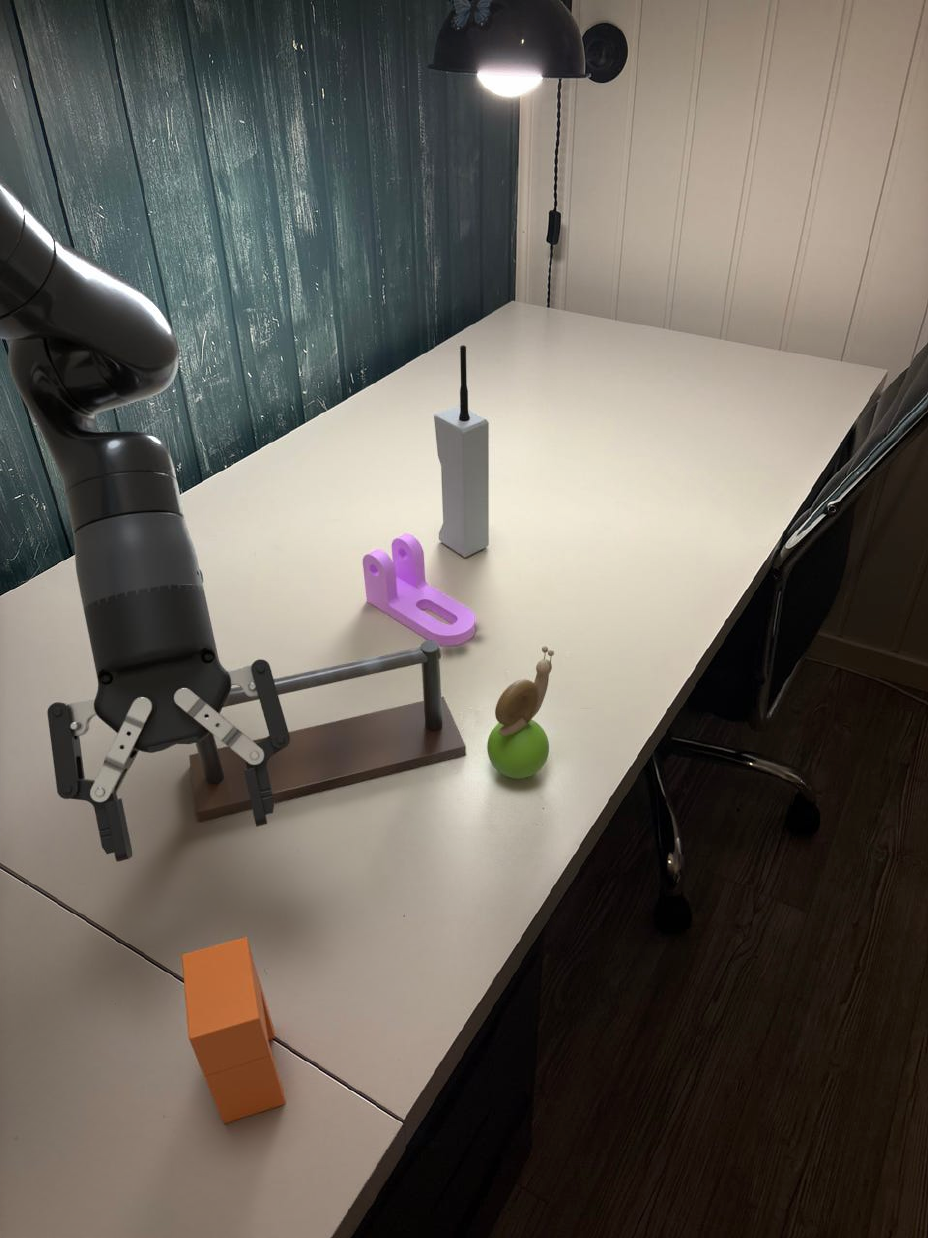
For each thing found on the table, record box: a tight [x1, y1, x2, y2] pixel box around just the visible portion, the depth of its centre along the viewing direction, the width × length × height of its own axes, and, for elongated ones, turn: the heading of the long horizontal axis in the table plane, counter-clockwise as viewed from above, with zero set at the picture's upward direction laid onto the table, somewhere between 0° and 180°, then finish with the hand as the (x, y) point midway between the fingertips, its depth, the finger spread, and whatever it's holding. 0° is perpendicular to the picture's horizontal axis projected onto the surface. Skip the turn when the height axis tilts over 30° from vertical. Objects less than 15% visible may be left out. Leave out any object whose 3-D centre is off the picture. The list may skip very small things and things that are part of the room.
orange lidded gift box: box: [181, 936, 286, 1124], centre depth 58 cm, size 4×6×11 cm
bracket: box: [362, 533, 476, 647], centre depth 98 cm, size 13×6×7 cm, turn 46°
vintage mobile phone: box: [433, 344, 490, 558], centre depth 103 cm, size 4×5×25 cm
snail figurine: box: [486, 645, 555, 780], centre depth 79 cm, size 5×6×12 cm
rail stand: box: [188, 640, 467, 822], centre depth 80 cm, size 24×7×11 cm, turn 108°
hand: (194, 841), depth 58 cm, fingers open, 8 cm apart
